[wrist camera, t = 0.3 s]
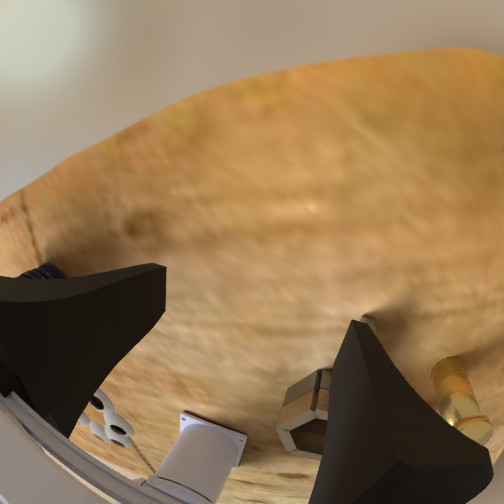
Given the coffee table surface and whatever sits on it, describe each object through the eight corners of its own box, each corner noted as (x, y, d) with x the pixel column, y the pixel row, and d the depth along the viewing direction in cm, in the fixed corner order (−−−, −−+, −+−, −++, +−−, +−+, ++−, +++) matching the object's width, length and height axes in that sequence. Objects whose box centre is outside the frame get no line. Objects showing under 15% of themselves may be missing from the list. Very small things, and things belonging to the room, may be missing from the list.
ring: (116, 385, 33) (108, 394, 31) (149, 459, 39) (144, 467, 38) (36, 344, 38) (28, 350, 36) (73, 418, 45) (68, 424, 43)
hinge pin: (452, 389, 19) (469, 458, 12) (417, 384, 20) (429, 458, 13) (474, 355, 18) (503, 424, 11) (439, 348, 19) (463, 423, 12)
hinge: (400, 436, 23) (401, 471, 19) (278, 412, 25) (266, 447, 21) (468, 340, 18) (485, 375, 14) (317, 303, 21) (310, 339, 16)
